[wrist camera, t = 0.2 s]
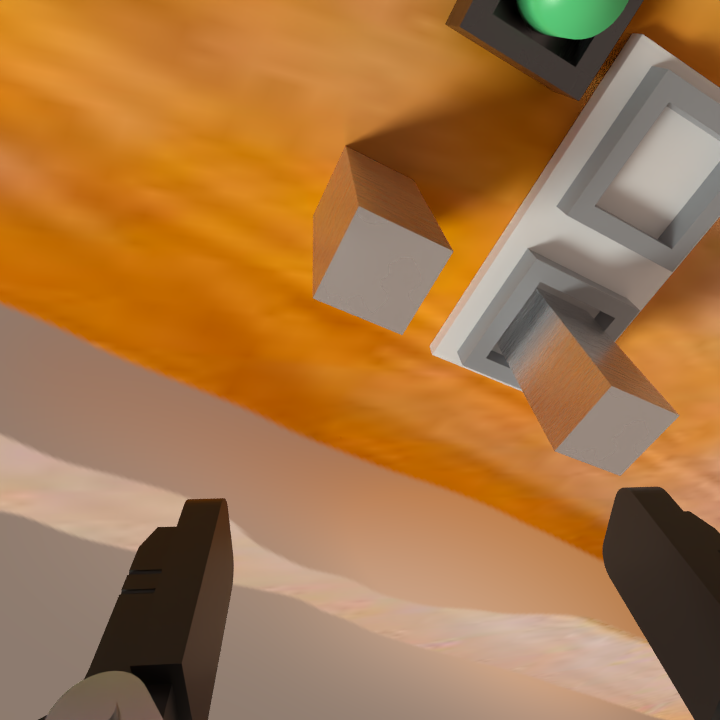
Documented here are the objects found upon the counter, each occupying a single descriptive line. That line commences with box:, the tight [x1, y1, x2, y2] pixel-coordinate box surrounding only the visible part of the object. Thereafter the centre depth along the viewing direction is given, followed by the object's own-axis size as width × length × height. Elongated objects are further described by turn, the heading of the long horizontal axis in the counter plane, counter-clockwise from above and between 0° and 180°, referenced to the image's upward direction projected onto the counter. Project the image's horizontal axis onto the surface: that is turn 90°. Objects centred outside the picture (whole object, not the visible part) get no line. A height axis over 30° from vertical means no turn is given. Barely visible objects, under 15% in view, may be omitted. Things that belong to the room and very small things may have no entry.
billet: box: [313, 146, 453, 335], centre depth 26 cm, size 4×4×10 cm
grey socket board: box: [430, 33, 720, 391], centre depth 31 cm, size 19×10×2 cm, turn 153°
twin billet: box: [497, 287, 679, 476], centre depth 29 cm, size 4×4×10 cm
